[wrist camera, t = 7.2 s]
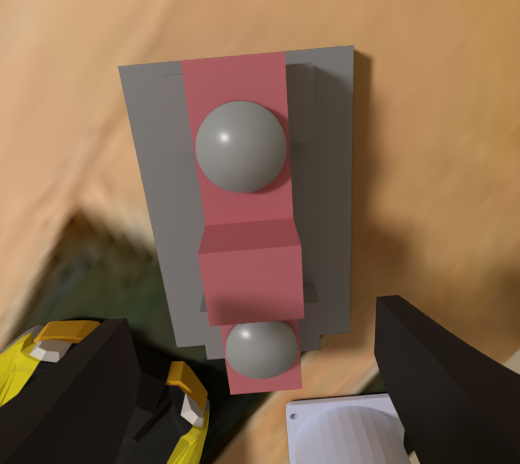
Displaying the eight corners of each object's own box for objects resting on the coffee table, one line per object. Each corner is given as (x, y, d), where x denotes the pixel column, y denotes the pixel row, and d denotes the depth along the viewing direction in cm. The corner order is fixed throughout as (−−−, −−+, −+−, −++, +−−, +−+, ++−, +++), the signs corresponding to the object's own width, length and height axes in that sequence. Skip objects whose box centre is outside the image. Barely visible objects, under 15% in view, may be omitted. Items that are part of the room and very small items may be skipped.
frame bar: (297, 359, 21) (309, 433, 17) (231, 365, 21) (228, 439, 17) (280, 52, 15) (292, 49, 11) (188, 60, 15) (166, 60, 11)
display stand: (345, 319, 24) (357, 354, 21) (180, 334, 24) (171, 369, 21) (347, 46, 18) (365, 43, 15) (126, 65, 18) (103, 67, 15)
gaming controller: (175, 472, 29) (248, 384, 26) (160, 558, 24) (248, 463, 21) (-31, 392, 25) (24, 278, 22) (-100, 474, 20) (-42, 343, 17)
